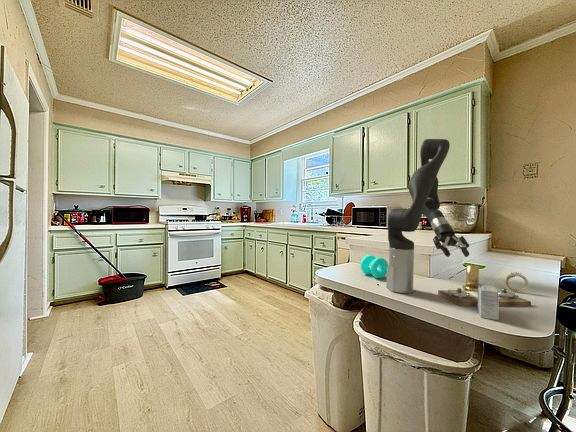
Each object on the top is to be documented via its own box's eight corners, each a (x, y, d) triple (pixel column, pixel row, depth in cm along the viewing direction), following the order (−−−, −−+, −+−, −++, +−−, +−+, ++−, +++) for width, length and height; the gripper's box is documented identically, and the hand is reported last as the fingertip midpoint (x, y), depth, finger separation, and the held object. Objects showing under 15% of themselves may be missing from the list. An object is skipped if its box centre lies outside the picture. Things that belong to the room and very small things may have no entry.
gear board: (460, 306, 85) (460, 300, 85) (438, 294, 97) (438, 289, 97) (530, 305, 86) (531, 300, 86) (500, 294, 98) (500, 289, 98)
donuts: (374, 273, 129) (374, 253, 129) (389, 277, 120) (389, 257, 120) (359, 274, 125) (359, 255, 125) (373, 280, 116) (373, 258, 116)
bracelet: (505, 291, 102) (506, 271, 102) (504, 289, 105) (505, 270, 104) (529, 294, 98) (529, 274, 98) (527, 292, 101) (527, 272, 101)
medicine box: (498, 321, 74) (499, 292, 74) (479, 317, 76) (480, 289, 76) (494, 312, 81) (495, 285, 80) (477, 309, 83) (477, 283, 83)
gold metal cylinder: (469, 292, 100) (470, 267, 99) (458, 287, 106) (459, 264, 106) (485, 292, 100) (486, 267, 100) (473, 287, 106) (474, 264, 106)
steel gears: (456, 298, 88) (456, 291, 88) (443, 292, 95) (443, 285, 95) (522, 298, 89) (522, 291, 89) (505, 292, 95) (505, 285, 95)
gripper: (431, 223, 119) (446, 250, 108) (460, 223, 120) (478, 251, 108) (424, 233, 125) (438, 260, 113) (452, 233, 125) (469, 260, 114)
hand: (458, 255), depth 111 cm, fingers open, 8 cm apart
